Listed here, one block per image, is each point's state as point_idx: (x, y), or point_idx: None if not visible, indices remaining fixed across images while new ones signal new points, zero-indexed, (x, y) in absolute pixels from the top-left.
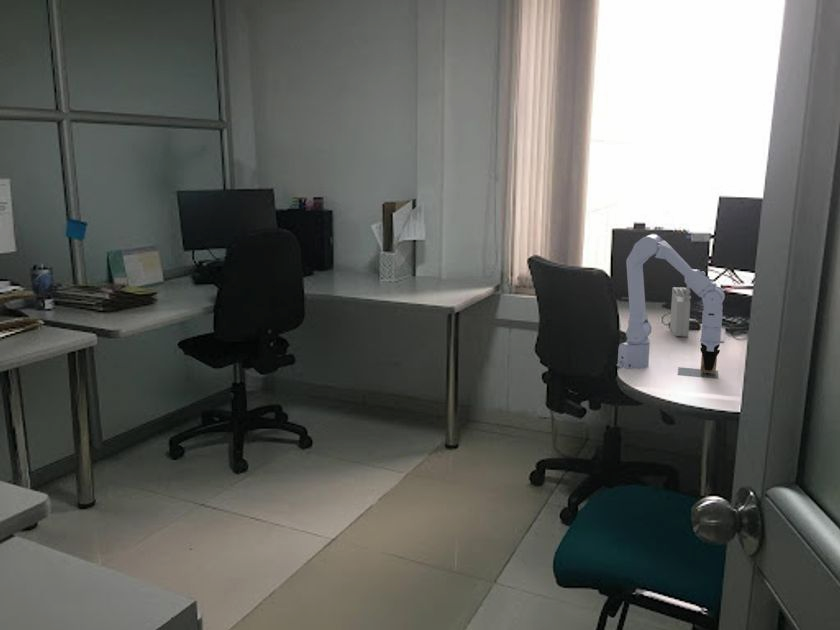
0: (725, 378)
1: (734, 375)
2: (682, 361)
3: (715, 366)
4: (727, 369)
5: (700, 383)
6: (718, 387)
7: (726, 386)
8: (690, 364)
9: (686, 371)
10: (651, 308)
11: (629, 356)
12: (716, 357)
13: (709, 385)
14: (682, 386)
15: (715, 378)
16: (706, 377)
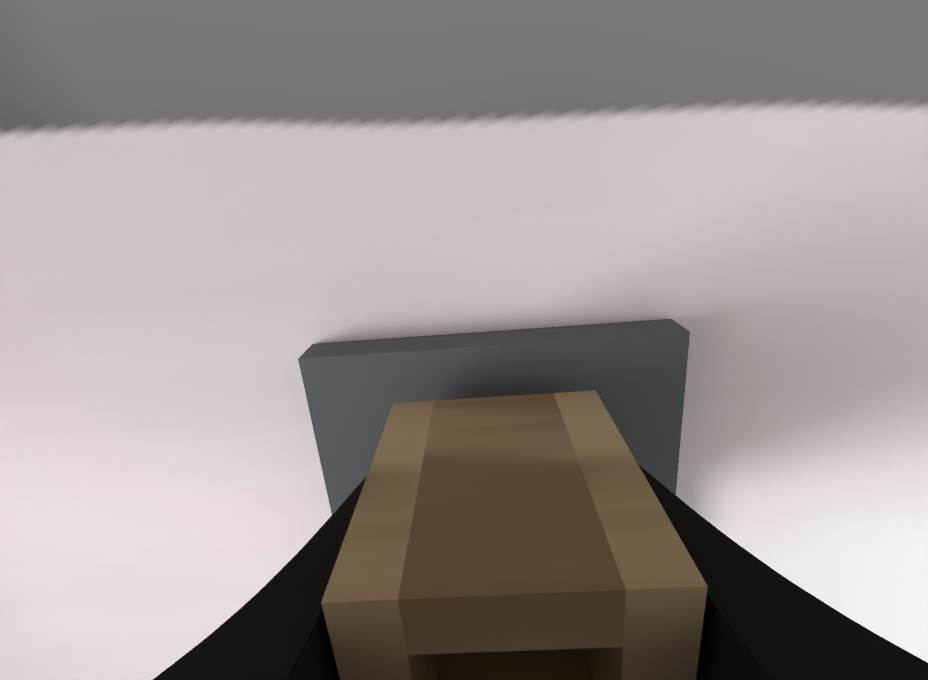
0: (486, 244)
1: (287, 134)
2: (59, 662)
3: (626, 459)
4: (48, 244)
5: (780, 483)
6: (914, 301)
7: (857, 210)
8: (115, 603)
9: None
10: None
11: None
12: (640, 594)
13: (843, 398)
14: (915, 611)
15: (685, 366)
16: (674, 463)
